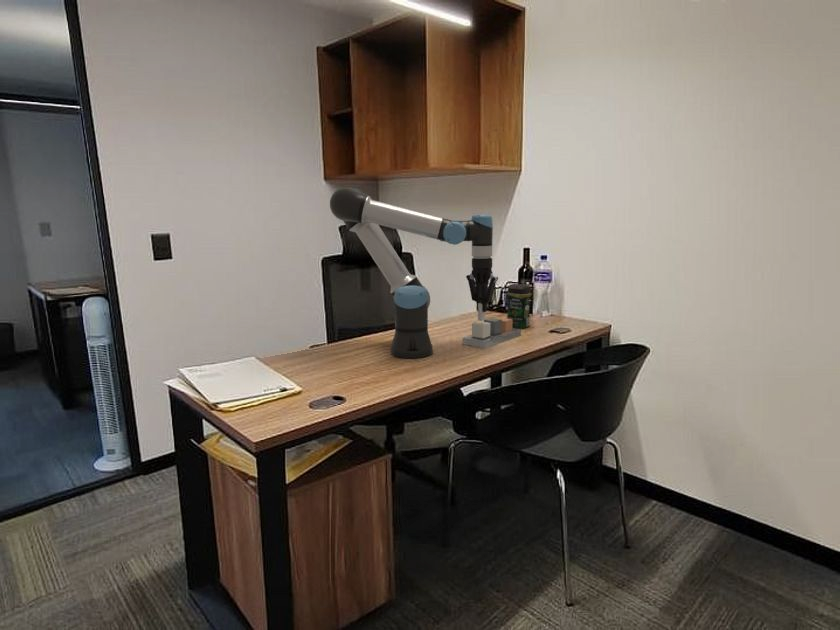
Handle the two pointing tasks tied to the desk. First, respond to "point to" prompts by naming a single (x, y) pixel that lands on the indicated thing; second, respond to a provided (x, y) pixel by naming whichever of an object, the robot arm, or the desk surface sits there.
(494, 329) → the block
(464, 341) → the panel
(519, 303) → the coffee jar
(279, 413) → the desk surface
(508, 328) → the key terracotta
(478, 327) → the key ivory
